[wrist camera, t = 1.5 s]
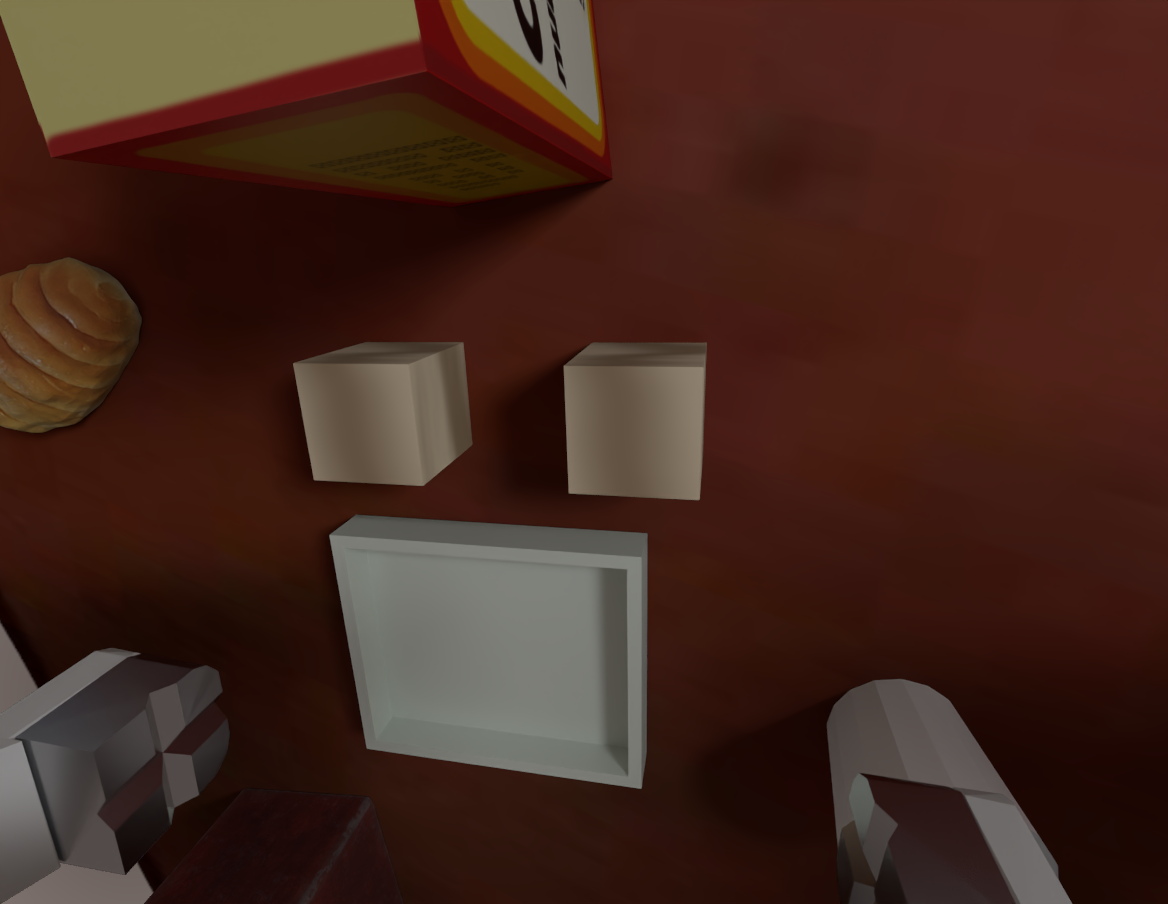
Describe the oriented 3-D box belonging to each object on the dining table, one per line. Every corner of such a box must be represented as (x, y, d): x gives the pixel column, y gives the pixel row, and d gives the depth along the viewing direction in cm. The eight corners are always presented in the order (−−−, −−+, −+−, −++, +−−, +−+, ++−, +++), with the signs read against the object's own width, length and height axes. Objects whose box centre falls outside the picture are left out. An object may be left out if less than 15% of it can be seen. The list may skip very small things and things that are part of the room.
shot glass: (785, 751, 29) (804, 897, 23) (860, 641, 27) (905, 771, 20) (924, 814, 29) (983, 982, 22) (1013, 709, 26) (1110, 864, 20)
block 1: (463, 342, 26) (408, 364, 21) (472, 444, 27) (423, 485, 23) (366, 341, 27) (293, 363, 22) (380, 440, 28) (313, 480, 24)
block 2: (706, 342, 24) (703, 367, 19) (702, 452, 25) (699, 499, 21) (592, 342, 25) (563, 365, 20) (595, 448, 26) (568, 493, 22)
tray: (647, 533, 27) (641, 557, 25) (646, 752, 31) (641, 788, 29) (355, 514, 30) (329, 534, 28) (388, 717, 34) (366, 748, 32)
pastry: (87, 217, 28) (-3, 214, 24) (183, 347, 29) (110, 362, 26) (-18, 324, 31) (-112, 336, 28) (73, 437, 32) (-6, 462, 29)
